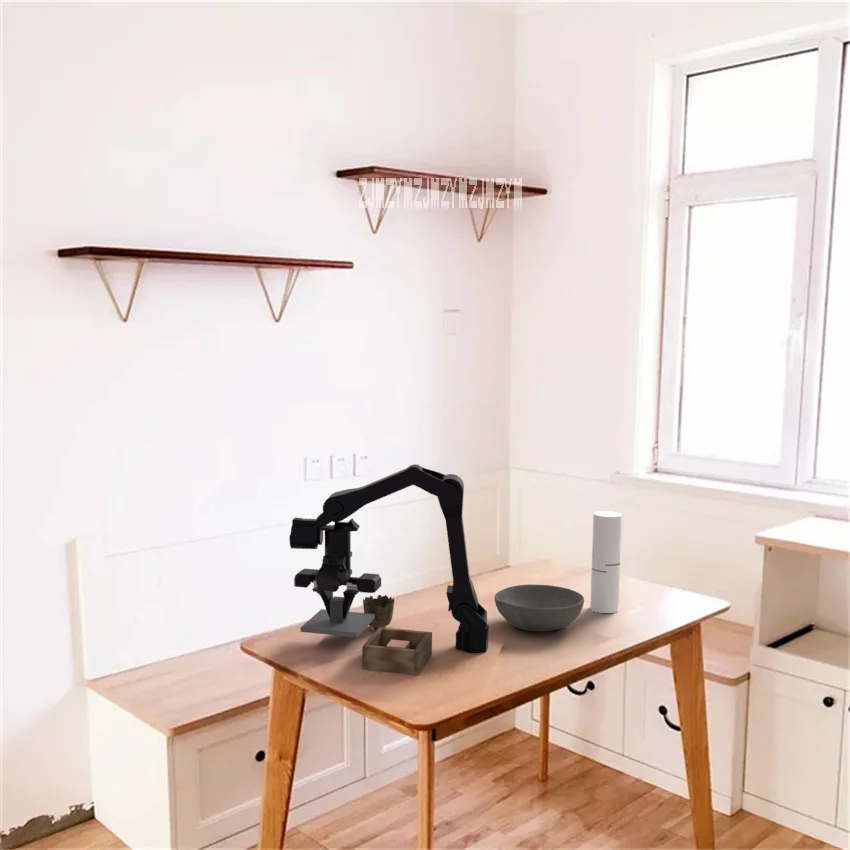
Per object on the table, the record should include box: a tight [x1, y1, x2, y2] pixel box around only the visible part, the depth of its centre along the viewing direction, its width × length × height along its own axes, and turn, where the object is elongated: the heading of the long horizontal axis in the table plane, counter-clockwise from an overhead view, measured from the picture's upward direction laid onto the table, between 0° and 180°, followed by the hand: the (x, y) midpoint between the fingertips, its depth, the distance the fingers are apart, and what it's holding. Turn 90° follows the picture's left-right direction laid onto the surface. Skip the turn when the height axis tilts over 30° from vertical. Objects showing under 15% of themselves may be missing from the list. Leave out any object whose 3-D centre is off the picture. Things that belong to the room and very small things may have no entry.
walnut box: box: [361, 627, 433, 677], centre depth 188 cm, size 12×12×6 cm
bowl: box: [494, 584, 585, 632], centre depth 213 cm, size 21×21×8 cm
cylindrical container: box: [589, 510, 623, 614], centre depth 226 cm, size 7×7×25 cm
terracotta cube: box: [386, 640, 410, 649], centre depth 188 cm, size 4×4×4 cm
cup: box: [362, 594, 395, 632], centre depth 208 cm, size 8×7×8 cm
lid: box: [299, 595, 375, 638], centre depth 198 cm, size 13×13×6 cm
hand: (337, 617), depth 198 cm, fingers closed on lid, 3 cm apart
